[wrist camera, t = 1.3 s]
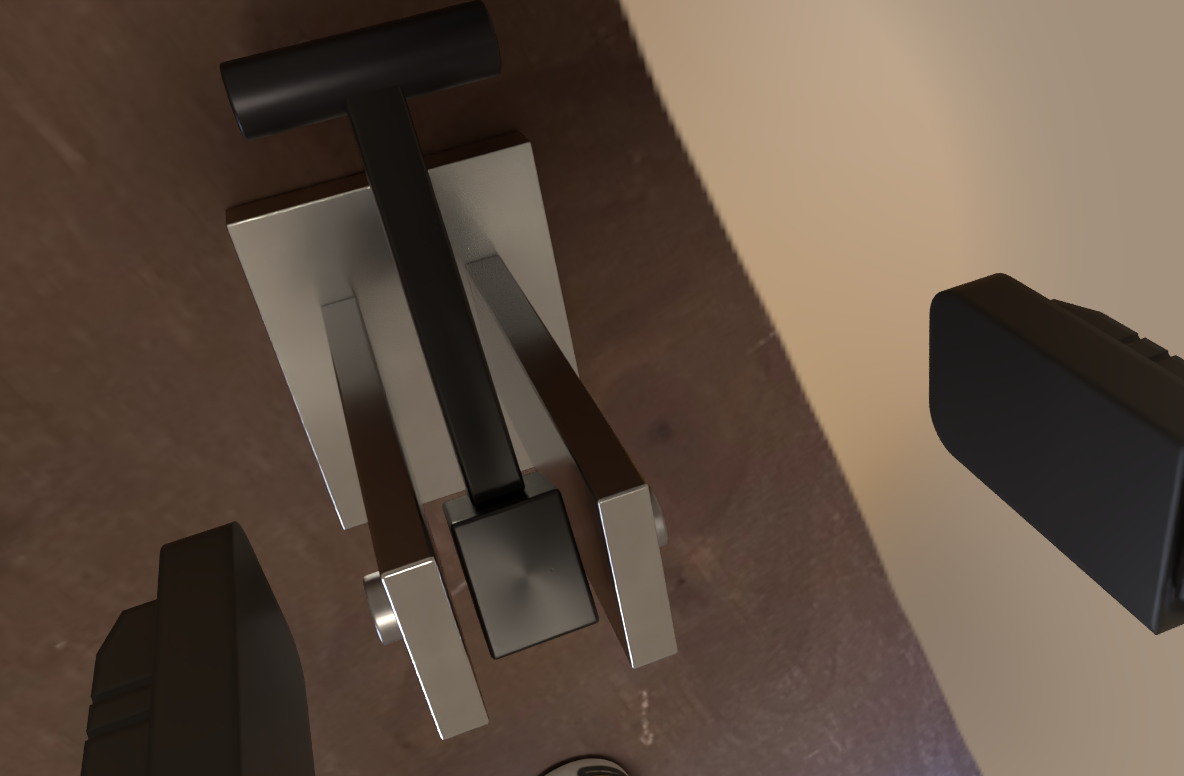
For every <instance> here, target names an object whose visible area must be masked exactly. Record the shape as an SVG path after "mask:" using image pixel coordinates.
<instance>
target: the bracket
mask: <svg viewBox="0 0 1184 776" xmlns="http://www.w3.org/2000/svg"><path fill="white" fill-rule="evenodd" d="M424 160H425V163H426V166H427V169H428V173H429V176H430V179H431V182H432V186H433V189H434V192H435V195H436V199H437V202H438V205H439V208H440V211H441V215H442V218H443V221H444V224H445V228H446V231H447V234H448V237H449V241H450V244H451V247H452V250H453V254H454V257H455V260H456V263H457V267H458V270H459V273H460V276H461V279H462V283H463V286H464V289H465V292H466V296H467V299H468V302H469V305H470V309H471V312H472V315H473V318H474V322H475V325H476V328H477V331H478V334H479V338H480V341H481V344H482V347H483V351H484V354H485V357H486V360H487V364H488V367H489V370H490V373H491V377H492V380H493V383H494V386H495V389H496V393H497V396H498V399H499V402H500V406H501V409H502V412H503V415H504V419H505V422H506V425H507V428H508V432H509V435H510V438H511V441H512V445H513V448H514V451H515V454H516V457H517V461H518V464H519V467H520V470H521V471H524V470H527V469H530V468H533V467H534V469H535V471H539V472H541V473H542V474H543V475H544V476H545V477H546V478H547V479H548V480H549V481H550V482H551V483H553V484H554V485H555V486H556V487H557V488H558V489H559V490H560V492H561V495H562V498H563V501H564V505H565V508H566V511H567V514H568V518H569V521H570V524H571V528H572V531H573V534H574V537H575V541H576V544H577V547H578V551H579V554H580V557H581V560H582V564H583V567H584V570H585V573H586V575H587V577H588V579H589V581H590V583H591V585H592V587H593V589H594V591H595V593H596V595H597V597H598V599H599V601H600V603H601V605H602V607H603V609H604V611H605V613H606V615H607V617H608V619H609V621H610V623H611V625H612V627H613V629H614V632H615V634H616V636H617V638H618V640H619V642H620V644H621V646H622V648H623V650H624V652H625V654H626V656H627V658H628V660H629V662H630V664H631V666H632V667H633V668H634V669H637V668H639V667H642V666H645V665H647V664H650V663H653V662H655V661H658V660H661V659H663V658H666V657H669V656H671V655H674V654H676V653H677V651H678V649H677V643H676V638H675V632H674V627H673V621H672V615H671V610H670V604H669V598H668V593H667V587H666V582H665V576H664V570H663V565H662V559H661V553H660V547H662V546H665V545H666V544H667V541H668V535H667V528H666V524H665V520H664V516H663V513H662V510H661V508H660V505H659V503H658V500H657V498H656V496H655V494H654V492H653V490H652V489H651V487H650V486H649V485H648V483H647V482H646V481H645V479H644V478H643V476H642V475H641V473H640V471H639V470H638V468H637V467H636V465H635V464H634V462H633V461H632V459H631V458H630V456H629V454H628V453H627V451H626V450H625V448H624V447H623V445H622V444H621V442H620V441H619V439H618V437H617V436H616V434H615V433H614V431H613V430H612V428H611V427H610V425H609V424H608V422H607V420H606V419H605V417H604V416H603V414H602V413H601V411H600V410H599V408H598V407H597V405H596V403H595V402H594V400H593V399H592V397H591V396H590V394H589V393H588V391H587V390H586V388H585V386H584V385H583V383H582V382H581V380H580V376H579V371H578V367H577V362H576V357H575V352H574V347H573V343H572V338H571V333H570V328H569V323H568V319H567V314H566V309H565V304H564V299H563V294H562V290H561V285H560V280H559V275H558V270H557V266H556V261H555V256H554V251H553V246H552V242H551V237H550V232H549V227H548V222H547V218H546V213H545V208H544V203H543V198H542V193H541V189H540V184H539V179H538V174H537V169H536V165H535V160H534V155H533V150H532V145H531V142H530V141H529V140H528V139H527V138H526V137H525V136H524V135H523V134H522V133H521V132H520V131H515V132H511V133H507V134H503V135H500V136H496V137H492V138H489V139H485V140H481V141H478V142H474V143H470V144H467V145H463V146H459V147H456V148H452V149H448V150H444V151H441V152H437V153H433V154H430V155H426V156H424ZM226 227H227V230H228V233H229V235H230V238H231V240H232V243H233V245H234V248H235V251H236V253H237V256H238V258H239V261H240V264H241V266H242V269H243V271H244V274H245V276H246V279H247V282H248V284H249V287H250V289H251V292H252V294H253V297H254V300H255V302H256V305H257V307H258V310H259V313H260V315H261V318H262V320H263V323H264V325H265V328H266V331H267V333H268V336H269V338H270V341H271V343H272V346H273V349H274V351H275V354H276V356H277V359H278V362H279V364H280V367H281V369H282V372H283V374H284V377H285V380H286V382H287V385H288V387H289V390H290V392H291V395H292V398H293V400H294V403H295V405H296V408H297V411H298V413H299V416H300V418H301V421H302V423H303V426H304V429H305V431H306V434H307V436H308V439H309V441H310V444H311V447H312V449H313V452H314V454H315V457H316V460H317V462H318V465H319V467H320V470H321V472H322V475H323V478H324V480H325V483H326V485H327V488H328V490H329V493H330V496H331V498H332V501H333V503H334V506H335V509H336V511H337V514H338V516H339V519H340V521H341V524H342V527H343V529H344V530H347V529H350V528H353V527H356V526H359V525H362V524H365V523H368V525H369V530H370V534H371V539H372V543H373V548H374V552H375V557H376V561H377V566H378V570H379V571H378V572H375V573H372V574H369V575H366V576H365V577H364V578H363V586H364V591H365V595H366V599H367V602H368V606H369V609H370V612H371V616H372V619H373V622H374V625H375V627H376V630H377V633H378V635H379V637H380V640H381V641H382V643H383V644H386V645H387V644H389V643H392V642H395V641H398V640H401V639H403V640H404V642H405V645H406V648H407V650H408V653H409V656H410V658H411V661H412V664H413V666H414V669H415V672H416V674H417V677H418V680H419V682H420V685H421V688H422V690H423V693H424V696H425V698H426V701H427V704H428V706H429V709H430V712H431V714H432V717H433V720H434V722H435V725H436V728H437V730H438V733H439V736H440V737H441V738H442V739H443V740H447V739H449V738H452V737H455V736H457V735H460V734H463V733H465V732H468V731H471V730H473V729H476V728H479V727H481V726H484V725H486V724H488V722H489V717H488V713H487V710H486V707H485V704H484V700H483V697H482V694H481V691H480V687H479V684H478V681H477V678H476V674H475V671H474V668H473V665H472V661H471V658H470V655H469V652H468V648H467V645H466V642H465V639H464V635H463V632H462V629H461V626H460V622H459V619H458V616H457V613H456V609H455V606H454V603H453V600H452V596H451V593H450V590H449V587H448V583H447V580H446V577H445V573H444V570H443V567H442V564H441V560H440V557H439V554H438V551H437V547H436V544H435V541H434V538H433V534H432V531H431V528H430V525H429V521H428V518H427V515H426V512H425V508H424V505H423V504H425V503H428V502H431V501H434V500H437V499H440V498H443V497H446V496H449V495H452V494H455V493H458V492H461V491H464V490H466V489H465V485H464V482H463V479H462V476H461V473H460V470H459V466H458V463H457V460H456V457H455V454H454V451H453V448H452V444H451V441H450V438H449V435H448V432H447V429H446V425H445V422H444V419H443V416H442V413H441V410H440V407H439V403H438V400H437V397H436V394H435V391H434V388H433V384H432V381H431V378H430V375H429V372H428V369H427V366H426V362H425V359H424V356H423V353H422V350H421V347H420V343H419V340H418V337H417V334H416V331H415V328H414V325H413V321H412V318H411V315H410V312H409V309H408V306H407V302H406V299H405V296H404V293H403V290H402V287H401V284H400V280H399V277H398V274H397V271H396V268H395V265H394V261H393V258H392V255H391V252H390V249H389V246H388V242H387V239H386V236H385V233H384V230H383V227H382V224H381V220H380V217H379V214H378V211H377V208H376V205H375V201H374V198H373V195H372V192H371V189H370V186H369V183H368V179H367V176H366V173H365V172H363V173H360V174H356V175H352V176H349V177H345V178H341V179H338V180H334V181H330V182H327V183H323V184H319V185H316V186H312V187H308V188H304V189H301V190H297V191H293V192H290V193H286V194H282V195H279V196H275V197H271V198H268V199H264V200H260V201H257V202H253V203H249V204H245V205H242V206H238V207H234V208H231V209H227V210H226Z"/></svg>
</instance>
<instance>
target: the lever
mask: <svg viewBox="0 0 1184 776" xmlns="http://www.w3.org/2000/svg"><path fill="white" fill-rule="evenodd" d="M220 72H221V76H222V80H223V83H224V86H225V89H226V92H227V96H228V99H229V101H230V104H231V107H232V110H233V113H234V116H235V118H236V121H237V123H238V126H239V128H240V131H241V133H242V135H243V137H244V139H245V140H246V141H250V140H254V139H258V138H262V137H266V136H269V135H273V134H277V133H281V132H285V131H289V130H292V129H296V128H300V127H304V126H308V125H312V124H315V123H319V122H323V121H327V120H331V119H335V118H338V117H342V116H346V115H347V116H348V119H349V123H350V126H351V129H352V132H353V135H354V138H355V142H356V145H357V148H358V151H359V154H360V157H361V160H362V164H363V167H364V170H365V173H366V176H367V179H368V183H369V186H370V189H371V192H372V195H373V198H374V201H375V205H376V208H377V211H378V214H379V217H380V220H381V224H382V227H383V230H384V233H385V236H386V239H387V242H388V246H389V249H390V252H391V255H392V258H393V261H394V265H395V268H396V271H397V274H398V277H399V280H400V284H401V287H402V290H403V293H404V296H405V299H406V302H407V306H408V309H409V312H410V315H411V318H412V321H413V325H414V328H415V331H416V334H417V337H418V340H419V343H420V347H421V350H422V353H423V356H424V359H425V362H426V366H427V369H428V372H429V375H430V378H431V381H432V384H433V388H434V391H435V394H436V397H437V400H438V403H439V407H440V410H441V413H442V416H443V419H444V422H445V425H446V429H447V432H448V435H449V438H450V441H451V444H452V448H453V451H454V454H455V457H456V460H457V463H458V466H459V470H460V473H461V476H462V479H463V482H464V485H465V489H466V492H467V495H464V496H461V497H458V498H455V499H452V500H449V501H446V502H445V503H443V506H442V508H443V511H444V514H445V517H446V520H447V523H448V527H449V530H450V533H451V536H452V539H453V542H454V545H455V548H456V552H457V555H458V558H459V561H460V564H461V567H462V570H463V573H464V576H465V580H466V583H467V586H468V589H469V592H470V595H471V598H472V601H473V604H474V608H475V611H476V614H477V617H478V620H479V623H480V626H481V629H482V632H483V635H484V638H485V640H486V643H487V646H488V649H489V652H490V655H491V657H492V658H493V659H500V658H503V657H505V656H508V655H511V654H514V653H516V652H519V651H522V650H525V649H527V648H530V647H533V646H535V645H538V644H541V643H544V642H546V641H549V640H552V639H555V638H557V637H560V636H563V635H566V634H568V633H571V632H574V631H577V630H579V629H582V628H585V627H588V626H590V625H593V624H596V623H597V622H598V621H599V616H598V613H597V610H596V606H595V603H594V600H593V597H592V593H591V590H590V587H589V583H588V580H587V577H586V574H585V570H584V567H583V564H582V560H581V557H580V554H579V551H578V547H577V544H576V541H575V537H574V534H573V531H572V528H571V524H570V521H569V518H568V514H567V511H566V508H565V505H564V501H563V498H562V495H561V492H560V490H559V489H558V488H557V487H556V486H555V485H554V484H553V483H551V482H550V481H549V480H548V479H547V478H546V477H545V476H544V475H543V474H542V473H541V472H539V471H536V472H533V473H530V474H527V475H524V476H522V474H521V470H520V467H519V464H518V461H517V457H516V454H515V451H514V448H513V445H512V441H511V438H510V435H509V432H508V428H507V425H506V422H505V419H504V415H503V412H502V409H501V406H500V402H499V399H498V396H497V393H496V389H495V386H494V383H493V380H492V377H491V373H490V370H489V367H488V364H487V360H486V357H485V354H484V351H483V347H482V344H481V341H480V338H479V334H478V331H477V328H476V325H475V322H474V318H473V315H472V312H471V309H470V305H469V302H468V299H467V296H466V292H465V289H464V286H463V283H462V279H461V276H460V273H459V270H458V267H457V263H456V260H455V257H454V254H453V250H452V247H451V244H450V241H449V237H448V234H447V231H446V228H445V224H444V221H443V218H442V215H441V211H440V208H439V205H438V202H437V199H436V195H435V192H434V189H433V186H432V182H431V179H430V176H429V173H428V169H427V166H426V163H425V160H424V156H423V153H422V150H421V147H420V144H419V140H418V137H417V134H416V131H415V127H414V124H413V121H412V118H411V114H410V111H409V108H408V105H407V101H406V100H407V99H411V98H415V97H419V96H423V95H427V94H431V93H434V92H438V91H442V90H446V89H450V88H454V87H457V86H461V85H465V84H469V83H473V82H477V81H480V80H484V79H488V78H492V77H496V76H498V75H499V74H500V72H501V58H500V51H499V46H498V41H497V37H496V33H495V30H494V26H493V23H492V20H491V17H490V15H489V12H488V10H487V8H486V6H485V5H484V3H483V2H482V1H481V0H474V1H470V2H466V3H462V4H458V5H454V6H450V7H446V8H442V9H438V10H434V11H430V12H426V13H421V14H417V15H413V16H409V17H405V18H401V19H397V20H393V21H389V22H385V23H381V24H377V25H373V26H369V27H365V28H361V29H356V30H352V31H348V32H344V33H340V34H336V35H332V36H328V37H324V38H320V39H316V40H312V41H308V42H304V43H300V44H295V45H291V46H287V47H283V48H279V49H275V50H271V51H267V52H263V53H259V54H255V55H251V56H247V57H243V58H239V59H235V60H230V61H226V62H222V63H221V64H220Z"/></svg>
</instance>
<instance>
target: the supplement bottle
mask: <svg viewBox="0 0 1184 776" xmlns="http://www.w3.org/2000/svg"><path fill="white" fill-rule="evenodd" d="M545 776H628V775H627V773H626V772H625V771H624V770H623V769H622V768H621V767H620V766H618V765H617V764H615V763H613V762H611V761H607V760H603V759H582V760H577V761H574V762H570V763H568V764H565V765H563V766H561V767H559V768H557V769H555V770H553V771H551V772H549V773H548V774H546V775H545Z"/></svg>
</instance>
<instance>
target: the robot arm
mask: <svg viewBox="0 0 1184 776" xmlns="http://www.w3.org/2000/svg"><path fill="white" fill-rule="evenodd" d="M929 323H930V325H929V326H930V327H929V328H930V329H929V332H930V333H929V348H930V349H929V408H930V413H931V418H932V422H933V425H934V427H935V430H936V432H937V435H938V436H939V438H940V440H941V442H942V443H943V445H944V446H945V448H946V449H947V450H948V451H949V452H950V453H951V454H952V456H954V457H955V458H956V459H957V460H958V461H959V462H960V463H962V464H963V465H964V466H965V467H966V468H967V469H968V470H969V471H971V472H972V473H973V474H974V475H975V476H976V477H977V478H978V479H980V480H981V481H982V482H983V483H984V484H985V485H986V486H988V487H989V488H990V489H991V490H992V491H993V492H994V493H995V494H997V495H998V496H999V497H1000V498H1001V499H1002V500H1003V501H1005V502H1006V503H1007V504H1008V505H1009V506H1010V507H1012V509H1014V510H1015V511H1016V512H1017V513H1018V514H1019V515H1020V516H1022V517H1023V518H1024V519H1025V520H1026V521H1027V522H1028V523H1029V524H1031V525H1032V526H1033V527H1034V528H1035V529H1036V530H1037V531H1038V532H1040V533H1041V534H1042V535H1043V536H1044V537H1045V538H1047V539H1048V540H1049V541H1050V542H1051V543H1052V544H1053V545H1054V546H1056V547H1057V548H1058V549H1059V550H1060V551H1061V552H1062V553H1063V554H1065V555H1066V556H1067V557H1068V558H1069V559H1070V560H1071V561H1073V562H1074V563H1075V564H1076V565H1077V566H1078V567H1079V568H1080V569H1082V570H1083V571H1084V572H1085V573H1086V574H1087V575H1088V576H1090V577H1091V578H1092V579H1093V580H1094V581H1095V582H1096V583H1098V584H1099V585H1100V586H1101V587H1102V588H1103V589H1104V590H1105V591H1107V592H1108V593H1109V594H1110V595H1111V596H1112V597H1113V598H1115V599H1116V600H1117V601H1118V602H1119V603H1120V604H1121V605H1122V606H1123V607H1125V608H1126V609H1127V610H1128V611H1129V612H1130V613H1131V614H1132V615H1134V616H1135V617H1136V618H1137V619H1138V620H1139V621H1140V622H1142V623H1143V624H1144V625H1145V626H1146V627H1147V628H1148V629H1150V630H1151V631H1152V632H1153V633H1154V634H1155V635H1158V634H1160V633H1162V632H1165V631H1167V630H1170V629H1172V628H1175V627H1177V626H1180V625H1182V624H1184V360H1183V359H1182V358H1180V357H1178V356H1176V355H1175V356H1172V357H1170V355H1169V354H1168V350H1166V349H1164V348H1163V347H1161V346H1159V345H1157V344H1156V343H1154V342H1152V341H1150V340H1149V339H1147V338H1143V339H1140V338H1139V336H1138V333H1137V332H1135V331H1133V330H1131V329H1130V328H1128V327H1126V326H1124V325H1123V324H1121V323H1119V322H1117V321H1116V320H1114V319H1112V318H1110V317H1109V316H1107V315H1105V314H1103V313H1101V312H1099V311H1095V310H1091V309H1087V308H1084V307H1081V306H1077V305H1074V304H1070V303H1066V302H1063V301H1059V300H1056V299H1053V300H1049V299H1047V298H1046V297H1044V296H1042V295H1041V294H1039V293H1038V292H1036V291H1034V290H1032V289H1031V288H1029V287H1027V286H1026V285H1024V284H1022V283H1021V282H1019V281H1017V280H1016V279H1014V278H1012V277H1011V276H1008V275H1006V274H1003V273H996V274H993V275H990V276H987V277H984V278H981V279H978V280H975V281H972V282H969V283H966V284H962V285H959V286H956V287H953V288H950V289H947V290H944V291H941V292H939V293H938V294H936V295H935V297H934V298H933V300H932V303H931V307H930V322H929ZM91 698H92V701H93V704H92V705H90V707H89V715H88V722H87V730H86V733H87V735H88V740H87V741H85V746H84V753H83V761H82V769H81V776H315V770H314V761H313V752H312V743H311V733H310V724H309V715H308V706H307V697H306V688H305V681H304V675H303V671H302V666H301V662H300V658H299V655H298V651H297V648H296V645H295V642H294V639H293V636H292V634H291V631H290V629H289V627H288V624H287V622H286V620H285V618H284V616H283V613H282V611H281V609H280V607H279V605H278V603H277V600H276V598H275V596H274V594H273V592H272V590H271V588H270V585H269V583H268V581H267V579H266V577H265V575H264V572H263V570H262V568H261V566H260V564H259V562H258V559H257V557H256V555H255V553H254V551H253V549H252V547H251V544H250V542H249V540H248V538H247V536H246V534H245V532H244V530H243V529H242V527H241V526H240V525H239V524H238V523H237V522H236V521H235V522H232V523H229V524H226V525H223V526H220V527H217V528H213V529H210V530H207V531H204V532H201V533H198V534H195V535H192V536H189V537H186V538H183V539H180V540H177V541H174V542H171V543H168V544H165V545H163V546H162V548H161V550H160V560H159V576H158V592H157V599H156V600H153V601H150V602H147V603H144V604H142V605H139V606H136V607H133V608H130V609H127V610H124V611H122V613H121V614H120V616H119V618H118V619H117V621H116V623H115V624H114V626H113V628H112V629H111V631H110V633H109V634H108V636H107V638H106V639H105V641H104V643H103V644H102V646H101V648H100V649H99V651H98V653H97V654H96V661H95V669H94V676H93V684H92V692H91Z"/></svg>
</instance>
